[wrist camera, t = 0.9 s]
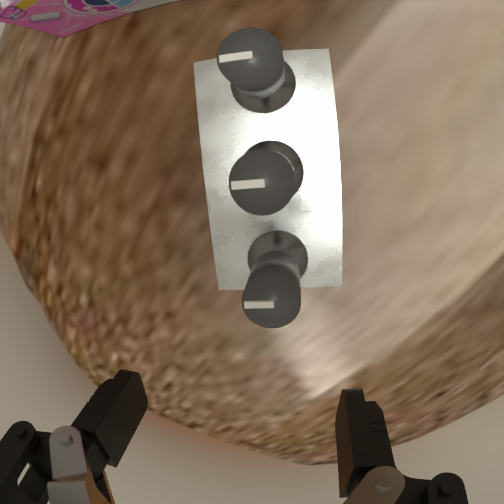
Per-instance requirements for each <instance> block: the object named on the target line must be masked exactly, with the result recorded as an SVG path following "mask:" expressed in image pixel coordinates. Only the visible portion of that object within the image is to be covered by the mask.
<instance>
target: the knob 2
mask: <svg viewBox="0 0 504 504" xmlns="http://www.w3.org/2000/svg"><path fill="white" fill-rule="evenodd" d="M300 306H301V291H300V270H299V267H298V264H297V263H296V261H295V260H294V259H293V258H292V257H291V256H290V255H288V254H286V253H283V252H279V251H271V252H267V253H264V254H263V255H261V256H260V257H258V258H257V259H256V261H255V262H254V264H253V266H252V269H251V272H250V275H249V278H248V281H247V283H246V286H245V289H244V292H243V295H242V308H243V310H244V312H245V314H246V316H247V317H248V318H249V319H250V320H251V321H252V322H254V323H255V324H257V325H259V326H262V327H265V328H279V327H283V326H285V325H287V324H289V323H290V322H292V321H293V320H294V319H295V318H296V316H297V315H298V313H299V310H300Z"/></svg>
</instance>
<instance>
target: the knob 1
mask: <svg viewBox="0 0 504 504" xmlns="http://www.w3.org/2000/svg"><path fill="white" fill-rule="evenodd" d="M217 65H218V68H219V70H220V72H221V73H222V74H223V75H224V77H225V78H226V79H227V80H228V81H230V82H231V83H232V84H233V85H234V86H235V87H236V88H237V89H238V90H239V91H240V92H241V93H242V94H244V95H246V96H248V97H251V98H266V97H269V96H271V95H273V94H275V93H276V92H277V91H278V90H279V89H280V88H281V87H282V85H283V83H284V80H285V66H284V57H283V51H282V47H281V45H280V43H279V41H278V40H277V39H276V38H275V37H274V36H273V35H272V34H270V33H269V32H267V31H265V30H262V29H257V28H245V29H241V30H238V31H235V32H233V33H232V34H230V35H229V36H227V37H226V38H225V39H224V40H223V42H222V43H221V45H220V46H219V49H218V52H217Z"/></svg>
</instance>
